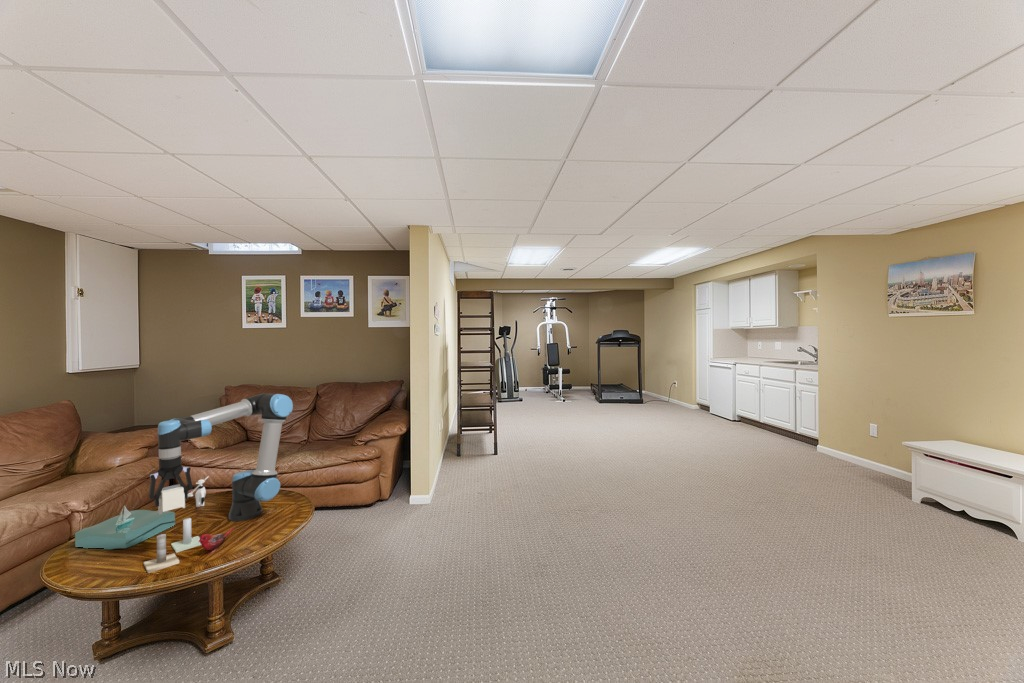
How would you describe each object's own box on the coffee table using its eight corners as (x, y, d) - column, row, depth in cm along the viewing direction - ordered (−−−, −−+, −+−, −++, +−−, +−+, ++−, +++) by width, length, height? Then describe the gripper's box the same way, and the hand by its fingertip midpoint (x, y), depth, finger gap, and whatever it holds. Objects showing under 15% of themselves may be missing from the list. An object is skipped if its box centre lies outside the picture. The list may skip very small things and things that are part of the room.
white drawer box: (180, 502, 187) (179, 482, 187) (184, 506, 183) (183, 485, 182) (159, 507, 182) (158, 486, 182) (162, 511, 177) (162, 490, 177)
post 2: (171, 546, 192) (171, 519, 192) (198, 538, 200) (197, 512, 200) (176, 553, 186) (175, 525, 186) (203, 545, 193) (203, 518, 193)
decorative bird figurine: (195, 560, 180) (195, 536, 180) (231, 540, 197) (231, 519, 197) (201, 560, 179) (201, 537, 179) (237, 541, 196) (236, 519, 196)
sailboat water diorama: (125, 550, 189) (125, 514, 189) (75, 548, 192) (74, 512, 192) (175, 526, 214) (174, 494, 214) (129, 524, 217) (129, 492, 217)
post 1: (143, 564, 176) (143, 536, 176) (174, 555, 184) (173, 528, 184) (148, 573, 170) (147, 543, 169) (179, 563, 177) (179, 535, 177)
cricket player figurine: (186, 505, 240) (186, 478, 240) (208, 500, 247) (208, 475, 247) (188, 512, 231) (187, 484, 231) (211, 507, 237) (211, 480, 237)
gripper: (196, 450, 192) (197, 500, 192) (137, 461, 177) (139, 515, 177) (200, 453, 187) (202, 504, 188) (140, 464, 172) (142, 520, 172)
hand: (171, 510), depth 182 cm, fingers closed on white drawer box, 7 cm apart
